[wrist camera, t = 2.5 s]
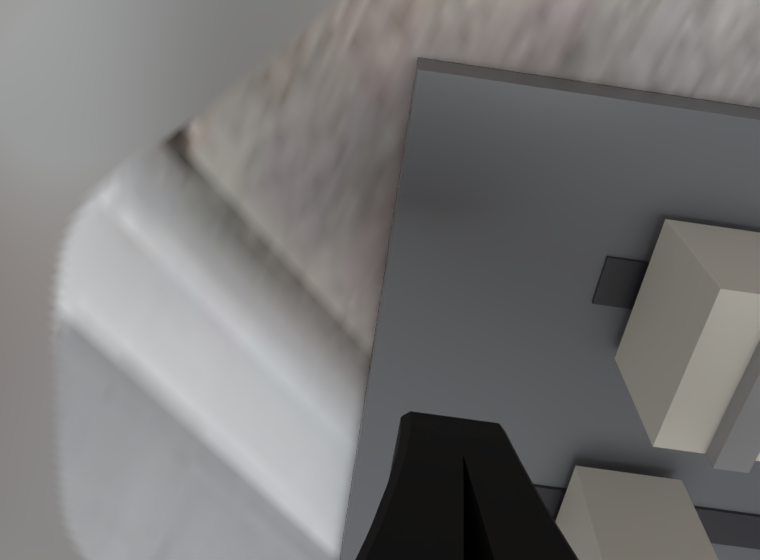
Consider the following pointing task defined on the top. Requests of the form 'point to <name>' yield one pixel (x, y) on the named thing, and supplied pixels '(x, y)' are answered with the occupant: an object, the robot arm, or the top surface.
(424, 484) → the robot arm
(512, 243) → the switch board
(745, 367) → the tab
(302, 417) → the top surface
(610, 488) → the middle tab
